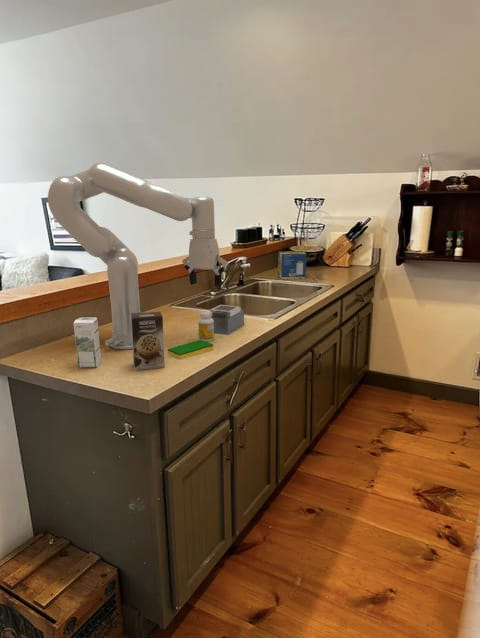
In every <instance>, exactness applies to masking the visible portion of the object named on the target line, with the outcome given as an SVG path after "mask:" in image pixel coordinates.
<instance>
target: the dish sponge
mask: <svg viewBox="0 0 480 638" xmlns="http://www.w3.org/2000/svg"><path fill="white" fill-rule="evenodd" d="M207 351H208V352H211V351H214V343H211V342H210V341H203V340H199V339H198V340H194V341H192V342H191V341H190V342H188V343H183V344H180V345H176V346H172V347H169V348H167V355H168V356H171V357H173V358H175V359H178V360H184V359H187V358H191V357H194V356H197V354H198V355H200V354H204V352H205V353H207Z"/></svg>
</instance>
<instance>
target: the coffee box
mask: <svg viewBox="0 0 480 638" xmlns="http://www.w3.org/2000/svg"><path fill="white" fill-rule="evenodd" d="M163 319H164V317H163V315H162V312H161V311H150V312H149V311H148V312H140V313H131V327H132V344H133V349H132V359H133V360H132V361H133V362H132V363H133V369H134V370H135V371H141V370H149V369H150V370H151V369H161V368H166V366H165V365H166V363H165V342H164V320H163Z"/></svg>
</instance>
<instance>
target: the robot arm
mask: <svg viewBox="0 0 480 638" xmlns="http://www.w3.org/2000/svg"><path fill="white" fill-rule="evenodd" d="M100 194H107V195H110V196H112V197H115V198H117V199H120V200H123V201H125V202H127V203H130V204H133V205H134V206H137V207H140V208H144V209H147V210H149V211H152V212H154V213H157V214H158V215H159V214H160V215H162V216H164V217H168V218H169V219H172V220H174V221H177V222H184V221H185V222H186V221H187V220H188V219H191V228H192V229H191V230H190V231H189V235H190V236H191V237H192V238H190V240H189V246H188V247H189V248H188V256H187V257H185V258H183V259H182V264H183V266H184V269H185V270H186V271H187V273H188V274H189V283H190V286H191V285H192V286H193V285H196V284H197V282H198V281H197V280H198V279H197V272H196V271H197V270H213V272H214V273H215V275H214V287H217V288H218V287H220V286H222V285H221V284H222V275H223V273H224V272H225V271H226V269H227V266H228V265H229V262H228V261H227V260H226V259H224V258H222V257H221V256H220V249H219V242H218V240H217V238H216V232H215V231H216V230H215V201H214V199H213V198H212V197H209V196H196V197H183V196H182V195H178V194H176V193H174V192H171V191H168V190H166V189H164V188H163V187H159V186H157V185H155V184H153V183H152V182H150V181H148V180H146V179H144V178H141V177H139V176H137V175H134V174H131V173H129V172H127V171H124V170H122V169H120V168H117V167H115V166H112V165H110V164H108V163H105V162H96V163H94V164H93V165H91V166H90V168H88V169H86V170H84V171H81V172H77V173H75V174H72V175H61V176H58V177H56V178H55V179H54V180H53V181H52V182H51V184H50V186H49V188H48V192H47V203H48V208H49V211H50V214H51V215H52V216H53V218H54V219H55V221H56V222H57V223H58V224H59V225H60V226H61V227H62V228H63V229H64V230H65V231H66V232H67V233H68V234H69V235H70V236H71V237H72V238H73V239H74V240H75V241H76V242H77V243H78V244H79V245H80V246H81V248H83V249H84V251H86V252H87V253H88V254H89V255H90V256H92V257H94V258H99V259H100V260H101V261H102V262H103V263H104V264H105V265H106V266H107V267H106V268H107V269H106V271H107V273H106V274H107V281H108V287H109V299H110V306H111V307H110V310H111V321H112V322H111V323H112V334H111V337H110V338H108V339H106V340H105V341H104V345H105V346H106V347H108V346H109V347H111V348H112V349H115V350H133V344H132V327H131V313H141V302H140V301H141V300H140V291H139V290H140V289H139V288H140V287H139V277H138V276H139V275H138V274H139V272H138V271H139V270H138V269H139V266H138V265H139V262H138V258H137V256H136V255H135V254H134V252H132V250H130V248H129V247H128V246H127V245H126V244H125V243H123V241H122V240H120V238H119V237H118V236H117V235H115V234H114V232H113V231H111V230H110V229H108V228H106V227H103V226H101V225H99V224H98V223H97V222H96V221H95V220H94V219H93V218H92V217H91V216H90V215H89V214H88V213H87V212H86V211H84V210H83V208H81V206H80V204H79V203H80V202H82V201H85V200H87V199H90V198H93V197H96V196H99V195H100ZM220 265H221V267H220Z"/></svg>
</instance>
